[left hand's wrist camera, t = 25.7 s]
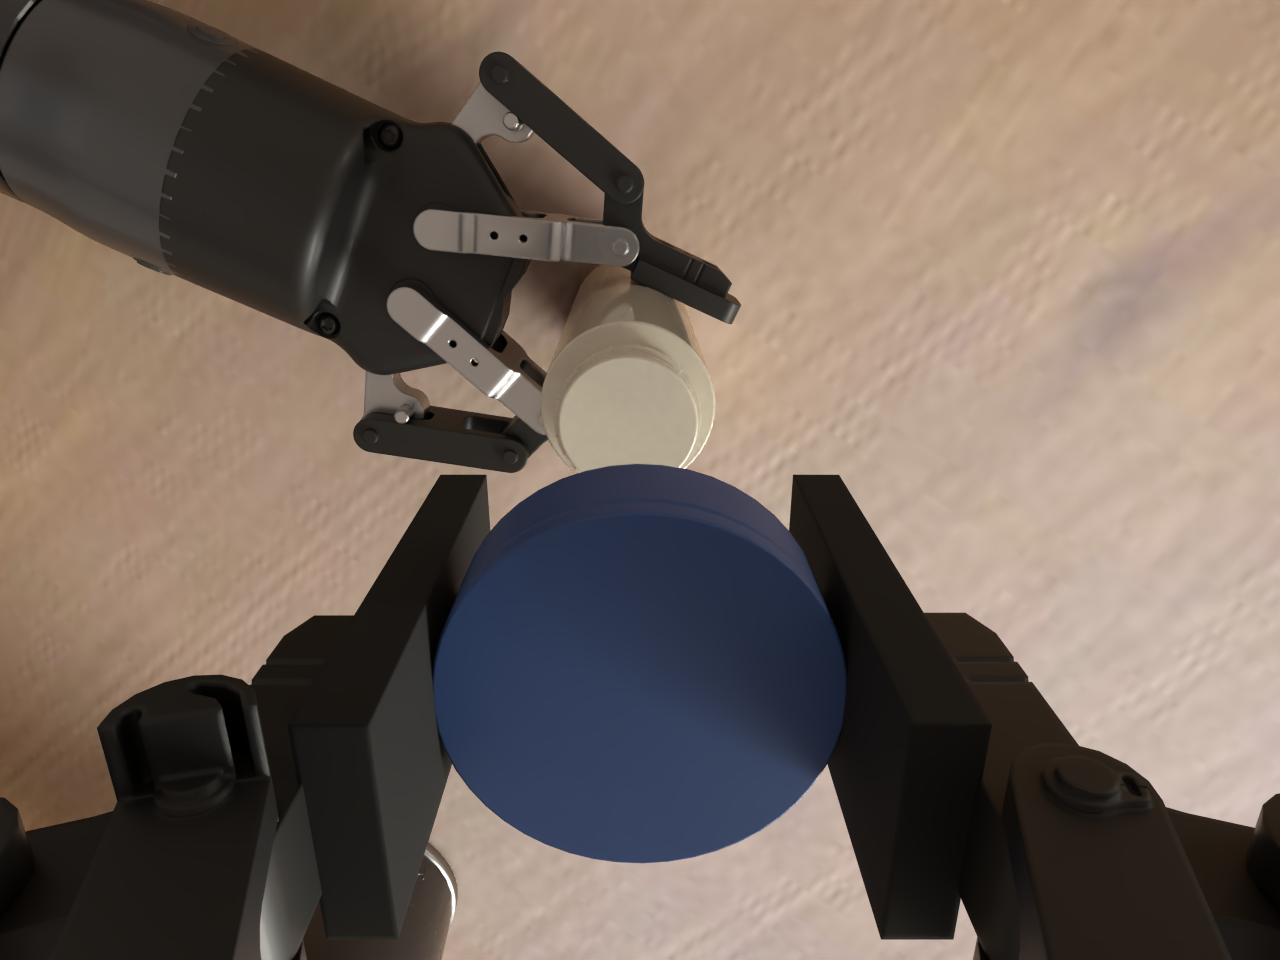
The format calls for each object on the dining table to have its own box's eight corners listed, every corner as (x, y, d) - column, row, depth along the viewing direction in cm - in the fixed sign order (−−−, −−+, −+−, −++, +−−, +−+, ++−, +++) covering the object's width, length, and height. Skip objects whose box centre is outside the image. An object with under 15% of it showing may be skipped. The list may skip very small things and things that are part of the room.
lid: (583, 827, 13) (575, 917, 12) (384, 576, 12) (344, 642, 10) (881, 684, 12) (917, 761, 11) (708, 390, 11) (720, 431, 9)
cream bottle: (551, 299, 35) (496, 403, 21) (642, 233, 34) (650, 293, 20) (616, 387, 37) (607, 543, 22) (705, 325, 36) (756, 445, 21)
